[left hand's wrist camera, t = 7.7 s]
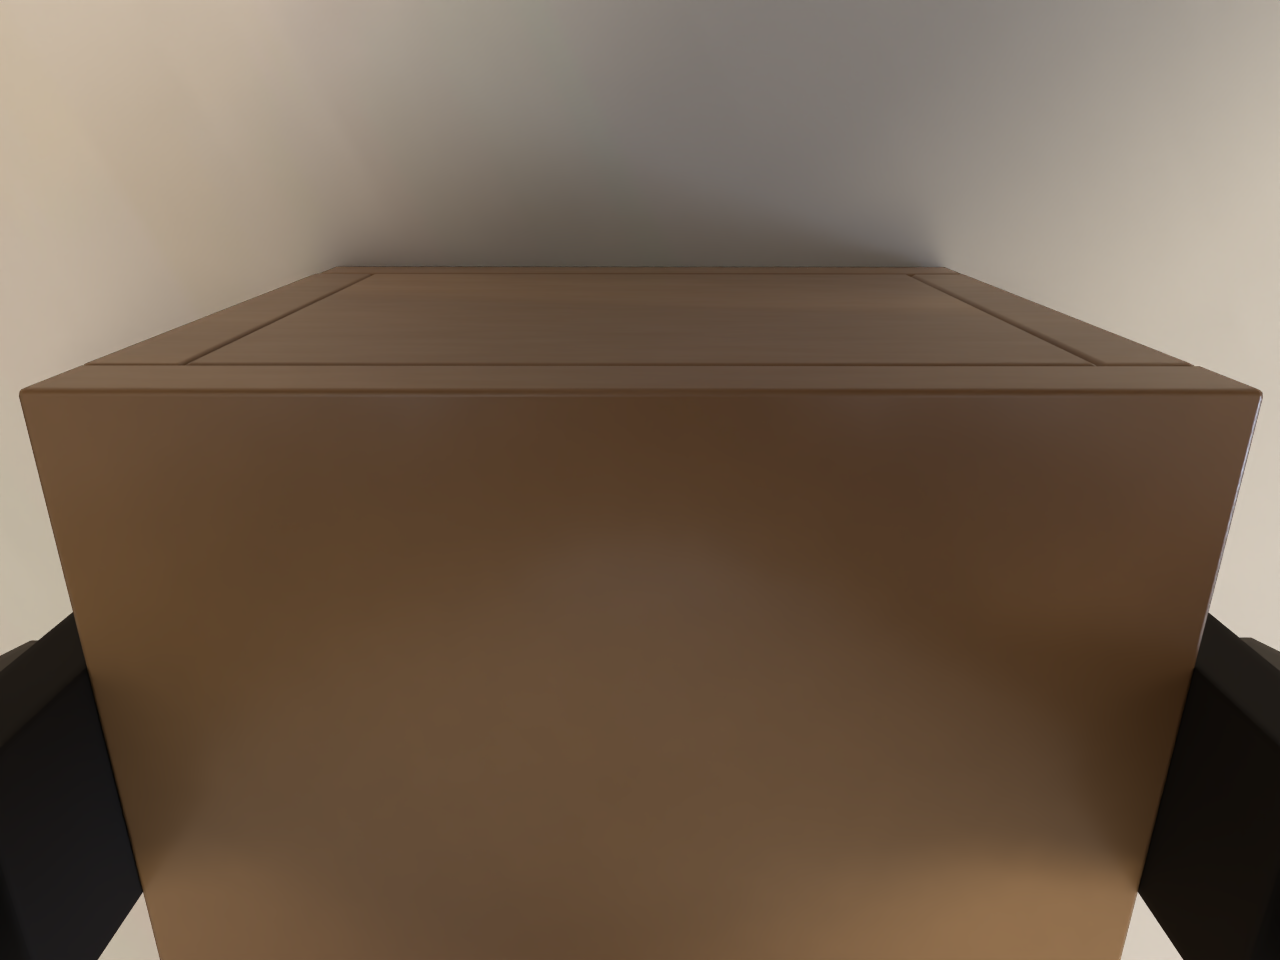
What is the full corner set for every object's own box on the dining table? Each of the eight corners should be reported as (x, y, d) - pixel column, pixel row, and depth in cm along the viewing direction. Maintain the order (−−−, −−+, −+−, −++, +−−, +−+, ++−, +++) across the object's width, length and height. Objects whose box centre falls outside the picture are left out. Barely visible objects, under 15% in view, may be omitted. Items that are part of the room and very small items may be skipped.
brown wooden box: (853, 1055, 21) (972, 1554, 14) (425, 1055, 21) (307, 1554, 14) (948, 266, 15) (1268, 390, 7) (332, 266, 15) (13, 390, 7)
